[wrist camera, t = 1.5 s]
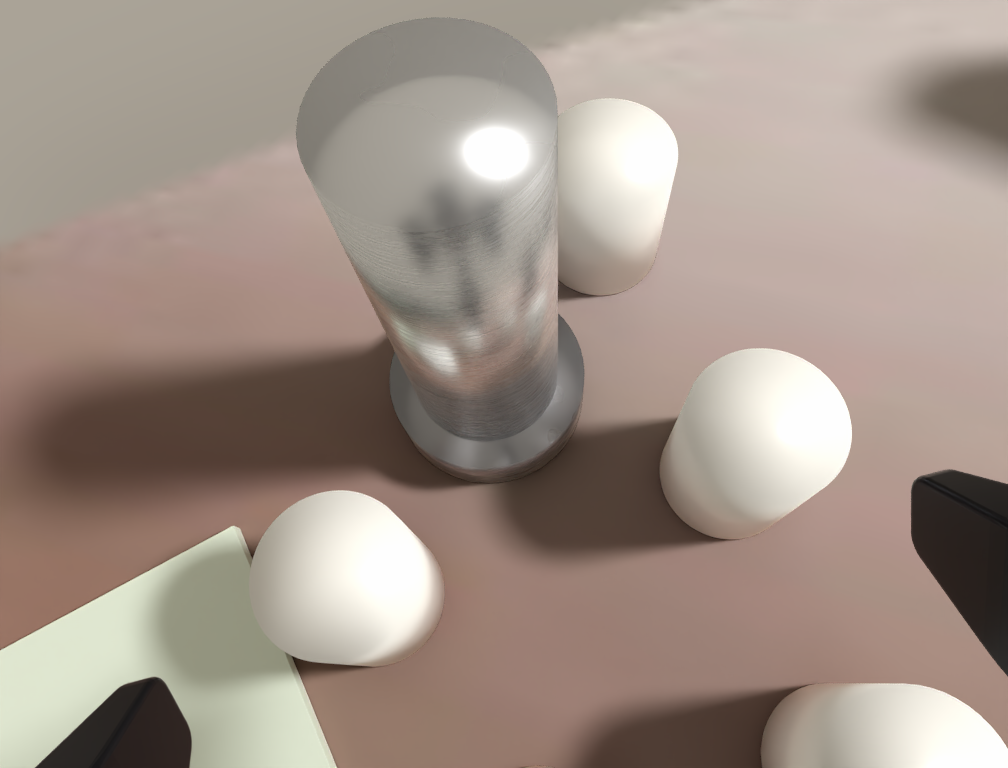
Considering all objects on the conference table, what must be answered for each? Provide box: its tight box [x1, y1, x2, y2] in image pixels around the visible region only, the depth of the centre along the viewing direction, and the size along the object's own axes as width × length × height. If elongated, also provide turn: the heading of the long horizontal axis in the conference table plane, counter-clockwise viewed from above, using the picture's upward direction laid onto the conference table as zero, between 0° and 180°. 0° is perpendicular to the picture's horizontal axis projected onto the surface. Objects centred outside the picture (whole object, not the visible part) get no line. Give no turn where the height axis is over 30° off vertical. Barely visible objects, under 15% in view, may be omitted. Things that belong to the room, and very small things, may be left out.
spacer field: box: [249, 98, 1008, 768], centre depth 20 cm, size 21×16×5 cm
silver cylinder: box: [296, 18, 584, 483], centre depth 18 cm, size 6×6×13 cm
